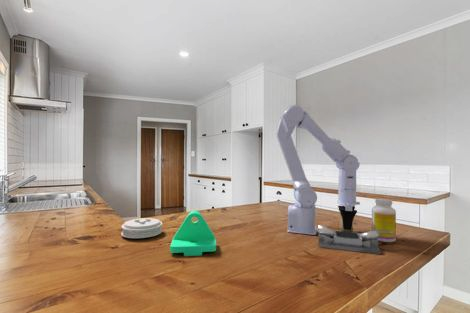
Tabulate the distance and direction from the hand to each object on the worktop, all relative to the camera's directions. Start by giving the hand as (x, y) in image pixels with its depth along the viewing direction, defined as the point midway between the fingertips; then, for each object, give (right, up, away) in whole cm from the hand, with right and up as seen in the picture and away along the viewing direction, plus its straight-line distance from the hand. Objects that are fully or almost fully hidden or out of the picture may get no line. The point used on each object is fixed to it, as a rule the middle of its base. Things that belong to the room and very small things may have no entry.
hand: (346, 227), depth 88 cm
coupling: (0, -2, 0) cm, 2 cm away
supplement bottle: (+9, -2, -7) cm, 11 cm away
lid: (-70, -1, -5) cm, 70 cm away
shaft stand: (-6, -1, -13) cm, 14 cm away
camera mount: (-50, -1, -19) cm, 54 cm away
